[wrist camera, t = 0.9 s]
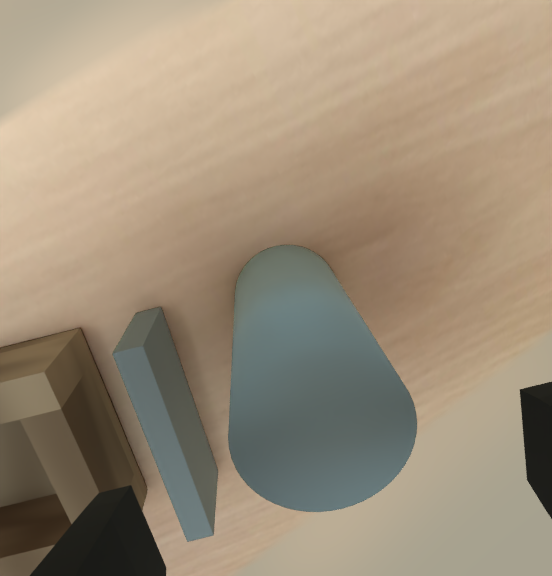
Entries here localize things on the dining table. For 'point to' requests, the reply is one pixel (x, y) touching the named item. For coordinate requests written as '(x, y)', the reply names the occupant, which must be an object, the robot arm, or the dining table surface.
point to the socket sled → (54, 446)
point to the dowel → (311, 389)
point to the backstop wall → (169, 420)
